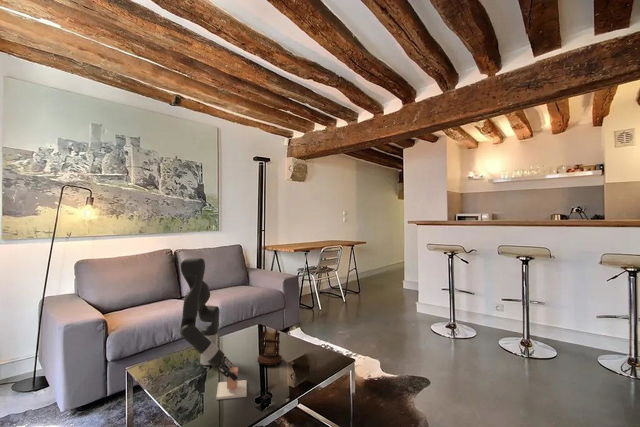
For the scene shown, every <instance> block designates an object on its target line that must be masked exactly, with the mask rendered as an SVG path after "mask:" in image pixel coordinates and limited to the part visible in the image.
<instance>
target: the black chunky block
mask: <svg viewBox="0 0 640 427" xmlns="http://www.w3.org/2000/svg"><path fill="white" fill-rule="evenodd" d="M259 400H260V403H259V404H257V405H255V406H254V408H255V409H256V410H258V411H260V412H261V413H263V412H264V411H265V410H264V409H265V408H266V407H268V406H269V404H271V400H272V396H271V395H270V394H268V393H266V394H264V395H262V396H261V397H260V399H259ZM263 410H264V411H263Z"/></svg>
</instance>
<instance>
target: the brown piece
mask: <svg viewBox="0 0 640 427" xmlns="http://www.w3.org/2000/svg"><path fill="white" fill-rule="evenodd" d="M280 336H281V333H280V332H278V329H277V328H276V329H275V331H268V329H267V328H265V329H264V331H262V332H261V339H260V340H261V341H260V342H261V348H260V350H261V352H260V355H258V356H257V362H258V365H259V364H261V365H263V366H275V365H274V364H276V363H278V362H280V361H281V359H282V360H283V356H282V355H281V354H280V353H279V352H280V342H281V340H280ZM281 362H282V361H281ZM281 362H280V363H281ZM278 364H279V363H278ZM276 365H277V364H276Z"/></svg>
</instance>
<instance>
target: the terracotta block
mask: <svg viewBox="0 0 640 427" xmlns="http://www.w3.org/2000/svg"><path fill="white" fill-rule="evenodd" d="M230 370H231V371H232V372H233V373H234V374H235V375H236V376H237V377H238V378H239V374H238V373H239V366H233V367H231V368H230ZM228 371H229V370H228ZM238 378H237V379H236V381H233V380H232V379H231V378H230V377H228V378H227V377H226V382H227V389H230V388H237V383H238V381H239V380H238Z"/></svg>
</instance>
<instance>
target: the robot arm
mask: <svg viewBox="0 0 640 427" xmlns="http://www.w3.org/2000/svg"><path fill="white" fill-rule="evenodd" d="M180 271H181V274H182V277H183V278H184V280H185V282H186V283H187V285H188V288H189V289H190V291H189V292H187V295H186V296H185V298H184V301H183V305H182V319H181V322H180V323H181V324H180V328H179V329H180V332H179V333H180V336H181V338H183V339H184V340H185V341H186V342H187V343H188V344H190V345H191V346H192V347H193V348H194V350H195V351H197V353H199V355H200V361H199V362H200V365H202V366H212V368H213V367H216V366H217V367H218V369H219V370H218V371H219V373H221V374H222V375H223V376H224V377H226V379H227V378H228V377H230V378H231V379H232V380H233V381H236V379H237V378H239V376H238V377H237V376H236V375H235V374H234V373H233V372H232V371H231V370H230V368H231V367H234V366H233V363H232V362H231V361H230V359H229V358H228V357H227V356H226V355H225V353H224V351H222V350H221V349H220V348H219V347H218V336H219V334H218V332H219V322H220V307H219V306H216V305H206V303H207V302H208V301H209V300H210V297H211V291H210V287H209V285H208V283H206V282H205V281H204V275H205V272H206V261H205V259H204V258H202V257H201V258H200V257H193V258H190V257H189V258H184V259H183V260H182V261H181V262H180ZM197 317H199V320H200V321H201V322H204V323H211V324H210V325H207V326H204V327H202V329H201V331H200V329H199V328H197V326H196V322H197ZM228 370H229V371H228Z"/></svg>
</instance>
